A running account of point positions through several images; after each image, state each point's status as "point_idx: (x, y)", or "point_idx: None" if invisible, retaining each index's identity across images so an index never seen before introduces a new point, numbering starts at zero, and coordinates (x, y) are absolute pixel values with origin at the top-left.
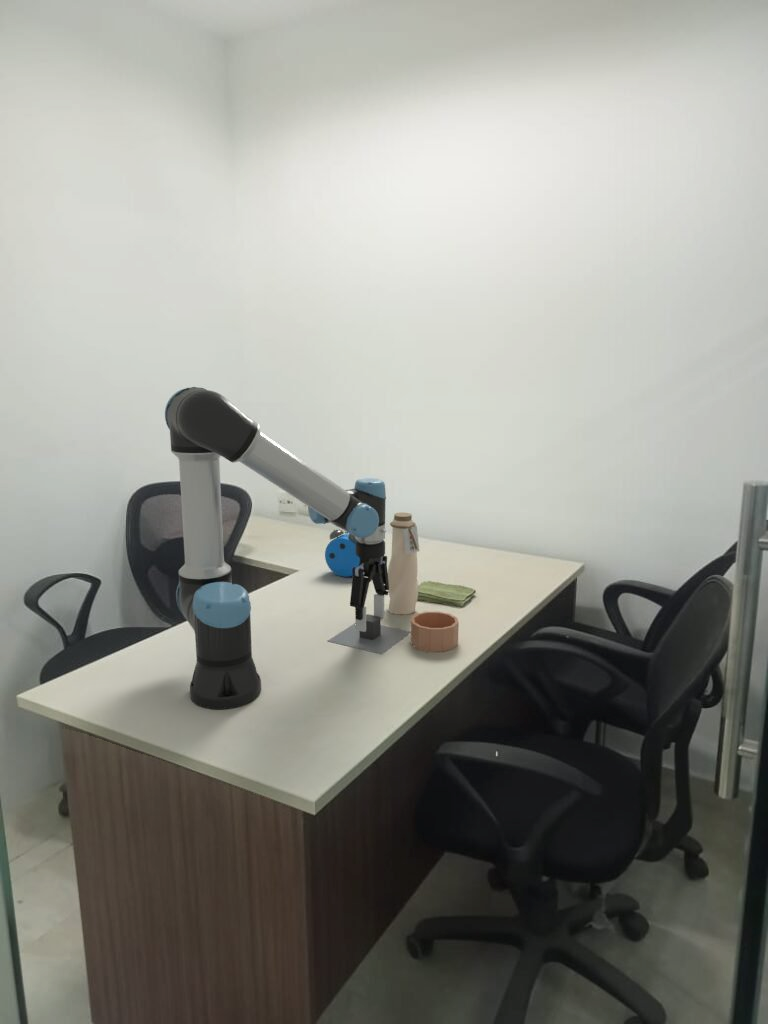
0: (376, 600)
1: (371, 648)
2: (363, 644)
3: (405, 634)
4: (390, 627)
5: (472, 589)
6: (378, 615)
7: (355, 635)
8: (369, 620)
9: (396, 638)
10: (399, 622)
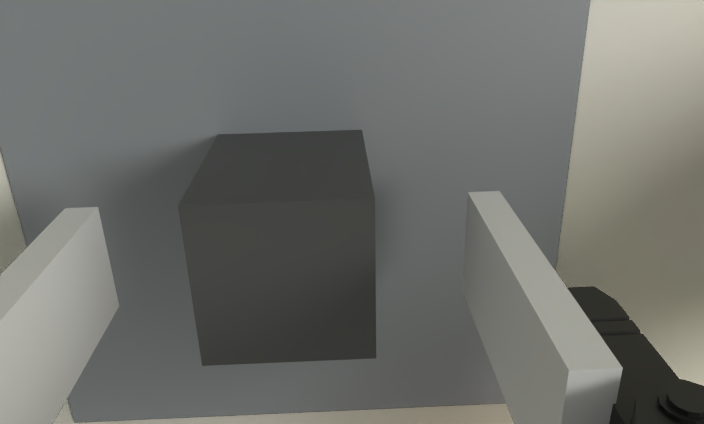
0: (531, 350)
1: None
2: (115, 242)
3: (467, 393)
4: (550, 243)
5: None
6: (472, 265)
7: (231, 77)
8: (217, 317)
9: (368, 378)
10: (694, 243)
